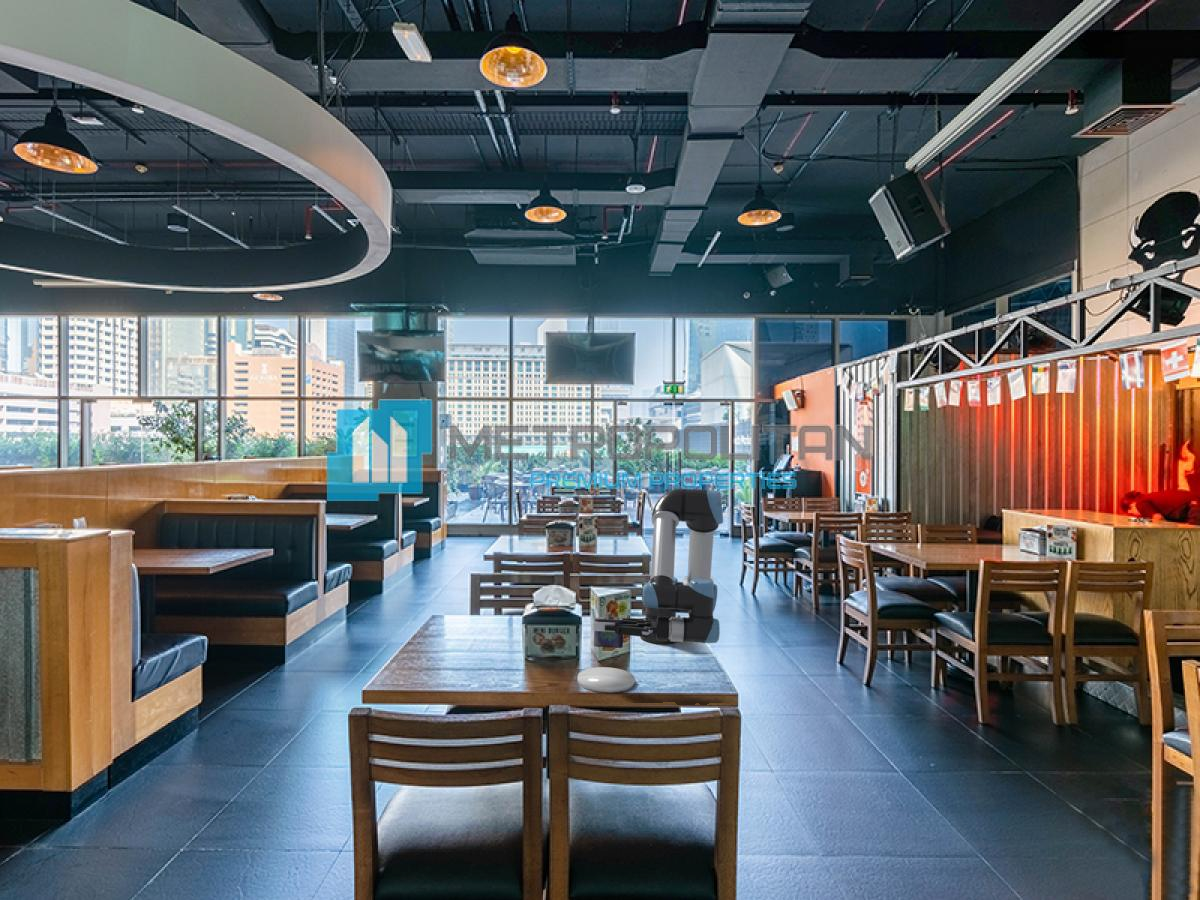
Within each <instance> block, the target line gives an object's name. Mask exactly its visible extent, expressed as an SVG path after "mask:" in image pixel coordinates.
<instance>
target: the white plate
mask: <svg viewBox="0 0 1200 900" xmlns="http://www.w3.org/2000/svg"><path fill="white" fill-rule="evenodd" d="M577 683H578V685H579V686H580V687H582V688H584V689H586V690H589V691H593V692H598V693H618V692H619V693H621V692H624V691H628V690H630V689H631V688H633V687H634V685H635V675H633V674H632V673H631V672H629V671H627V670H626V669H625V670H624V669H622V668H615V667H608V666H607V667H605V666H602V667H601V666H600V667H599V666H598V667H591V668H587V669H584V670H581V671H580V672H579V673H578V674H577Z"/></svg>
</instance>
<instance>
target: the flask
mask: <svg viewBox="0 0 1200 900" xmlns="http://www.w3.org/2000/svg"><path fill="white" fill-rule="evenodd" d="M622 618H623V617H619V616H613V615H612V611H609V612H607V613H606V616H605V617H604V616H603V617H602V616H597V617H594V622H610V623H615V622H617V624H624V621H623V619H622ZM623 645H624V635H618V634H617V633H616V632H606V631H594V632H593V646H594V647H598V648H615V649H622V648H623Z"/></svg>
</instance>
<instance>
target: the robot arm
mask: <svg viewBox="0 0 1200 900" xmlns="http://www.w3.org/2000/svg"><path fill="white" fill-rule="evenodd" d="M722 501H723V500H722V493H721V492H720V491H718V490H715V489H714V490H713V489H712V490H711V489H695V488H692V489H691V488H674V489H670V490H669V491H667V492H665V493H664V494H663V495H662V496H661V497H660V498H659V499H658V500H657V501H656V503H655V505H654V506H653V509H652V511H651V512H652V513H651V524H652V525H653V537H652V548H651V549H652V550H651V566H650V579H649V581H648V582H645V583H644V584H643V587H642V605H643V606H644V607H645V617H643V618H638V617H637V618H635V617H634V618H633V617H621V618H622V619H623V621H624V624H617V622H615V623H610V622H595V621H594V624H593V625H594V626H593V630H594V631H606V632H616V633H617V634H618V635H623V636H631V637H632V636H634V637H640V639H641V640H643V641H644V642H648V643H651V644H657V645H658V644H659V645H660V644H661V645H667V644H668V645H669V644H675V643H677V642H680V643H684V642H686V643H699V644H716V643H718V641H719V640H720V633H721V632H720V630H721V629H720V628H721V627H720V620H719V619H718V618H715V617H714V611H715V610H716V604H717V599H718V585H717V584H715V582H714V579H713V578H712V575H711V574H712V563H713V562H712V560H713V550H714V549H713V548H714V547H713V546H714V536H715V535H714V534H715V532H716V530H717V529H718V528H719V525H720V524H723V523H724V516H723V515H724V513H723V502H722ZM680 522H682V523H683V522H684V523H686V524H685V525H686V527H687V528H688V530H689V541H688V557H687V558H688V559H687V563H688V565H687V576H685V577H684V579H683V581H678V578H677V577H675V561H676V559H675V558H676V557H675V556H676V554H675V553H676V538H677V537H676V534H677V527H678V526H679V525H680ZM677 613H678V615H677ZM681 614H688V617H687V616H683V617H682V616H681Z"/></svg>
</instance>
